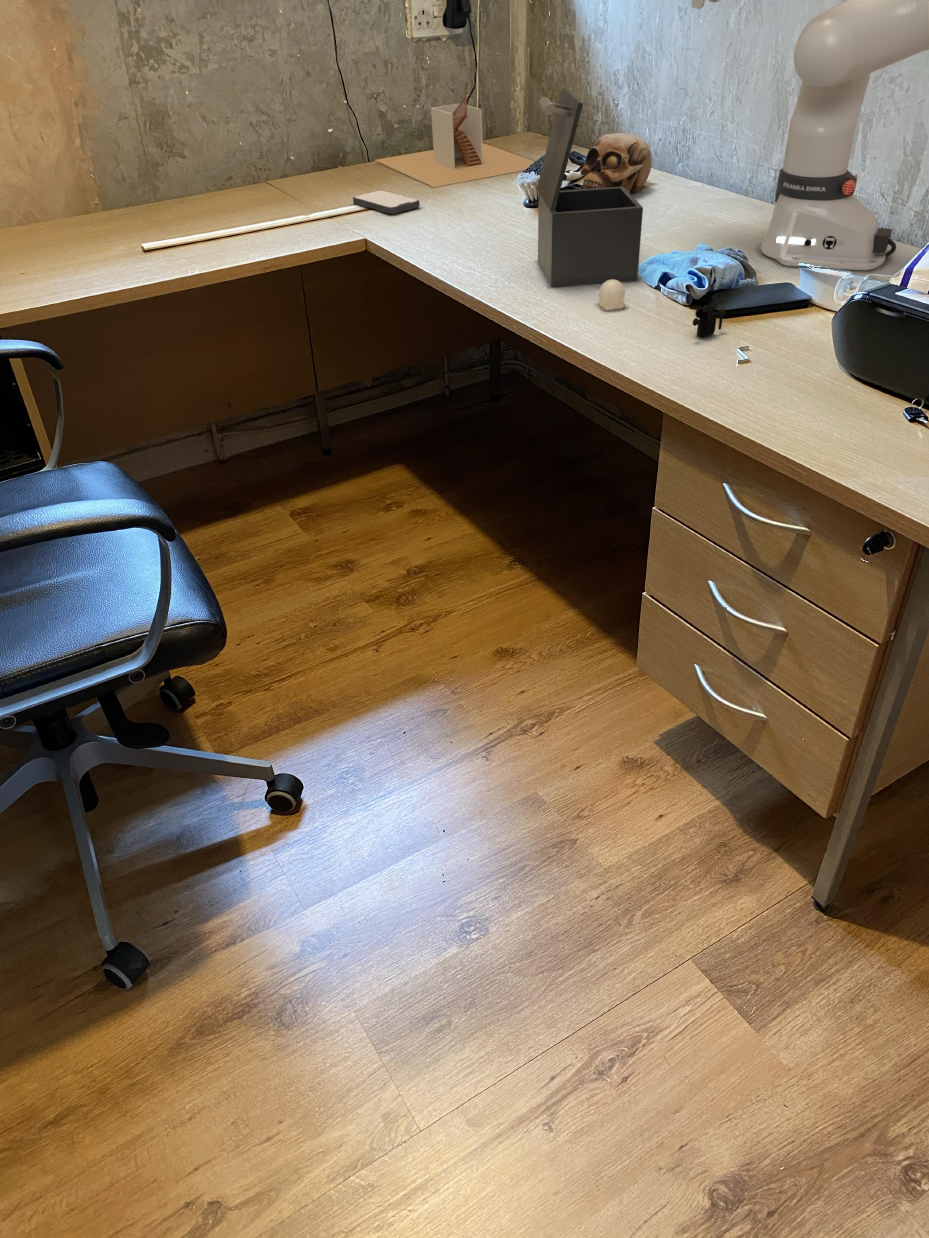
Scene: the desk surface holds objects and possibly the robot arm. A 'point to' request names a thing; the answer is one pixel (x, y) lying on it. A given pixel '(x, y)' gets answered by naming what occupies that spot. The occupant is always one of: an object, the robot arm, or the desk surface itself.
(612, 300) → the beige rounded piece
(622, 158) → the brown skull
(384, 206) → the phone case
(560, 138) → the bin lid
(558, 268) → the waste bin
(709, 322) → the black knobbed bracket
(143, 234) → the desk surface
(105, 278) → the desk surface
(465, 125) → the staircase
